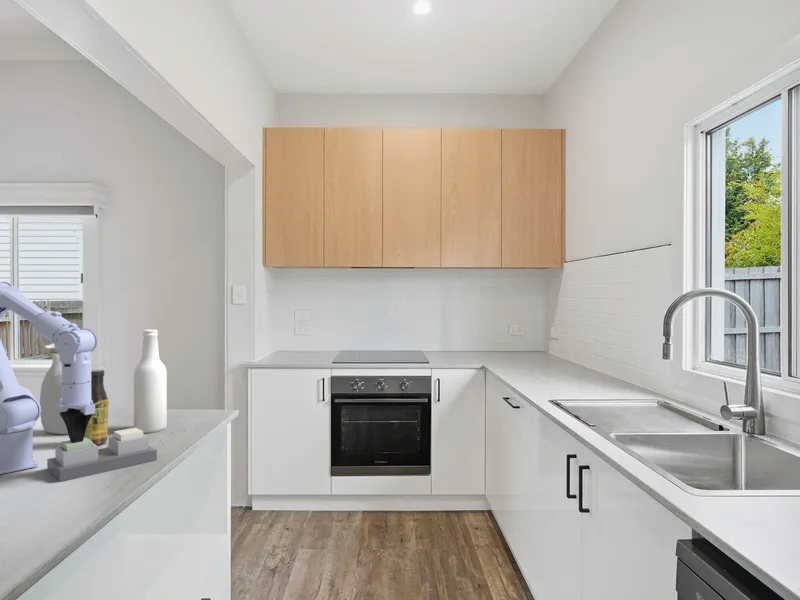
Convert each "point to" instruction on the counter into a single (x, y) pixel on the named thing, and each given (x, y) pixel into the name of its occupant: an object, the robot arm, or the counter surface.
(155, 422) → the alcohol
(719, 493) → the counter surface
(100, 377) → the sauce bottle
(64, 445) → the sage key
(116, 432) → the cream key
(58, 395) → the soap bottle
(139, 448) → the key console
